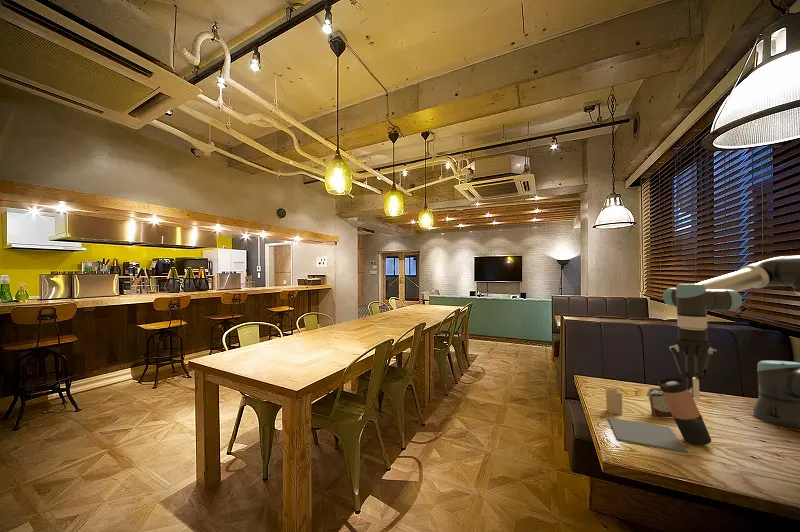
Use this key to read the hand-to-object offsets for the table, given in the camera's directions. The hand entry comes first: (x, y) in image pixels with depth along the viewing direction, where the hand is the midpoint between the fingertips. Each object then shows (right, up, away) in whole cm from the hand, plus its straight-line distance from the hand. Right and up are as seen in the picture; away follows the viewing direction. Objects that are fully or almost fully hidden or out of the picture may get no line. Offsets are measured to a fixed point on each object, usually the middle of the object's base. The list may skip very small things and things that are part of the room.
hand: (695, 397), depth 106 cm
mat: (-13, -16, +6) cm, 21 cm away
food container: (+7, -17, +22) cm, 28 cm away
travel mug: (0, -15, -1) cm, 15 cm away
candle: (-11, -17, +25) cm, 32 cm away
